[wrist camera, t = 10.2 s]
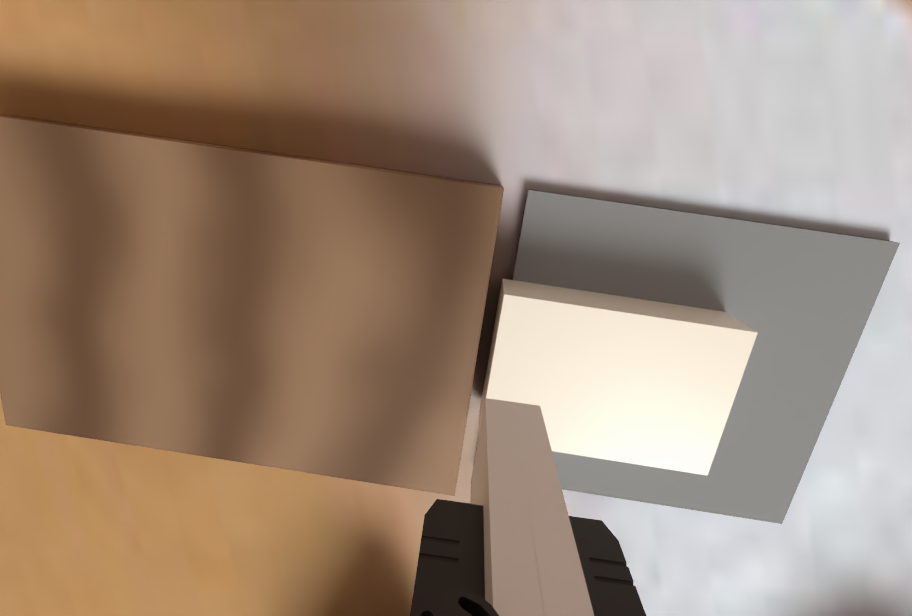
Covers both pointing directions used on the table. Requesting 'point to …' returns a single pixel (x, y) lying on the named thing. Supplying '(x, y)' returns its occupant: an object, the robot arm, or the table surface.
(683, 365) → the tile
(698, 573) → the table surface
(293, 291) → the brown wooden board
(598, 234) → the mat
